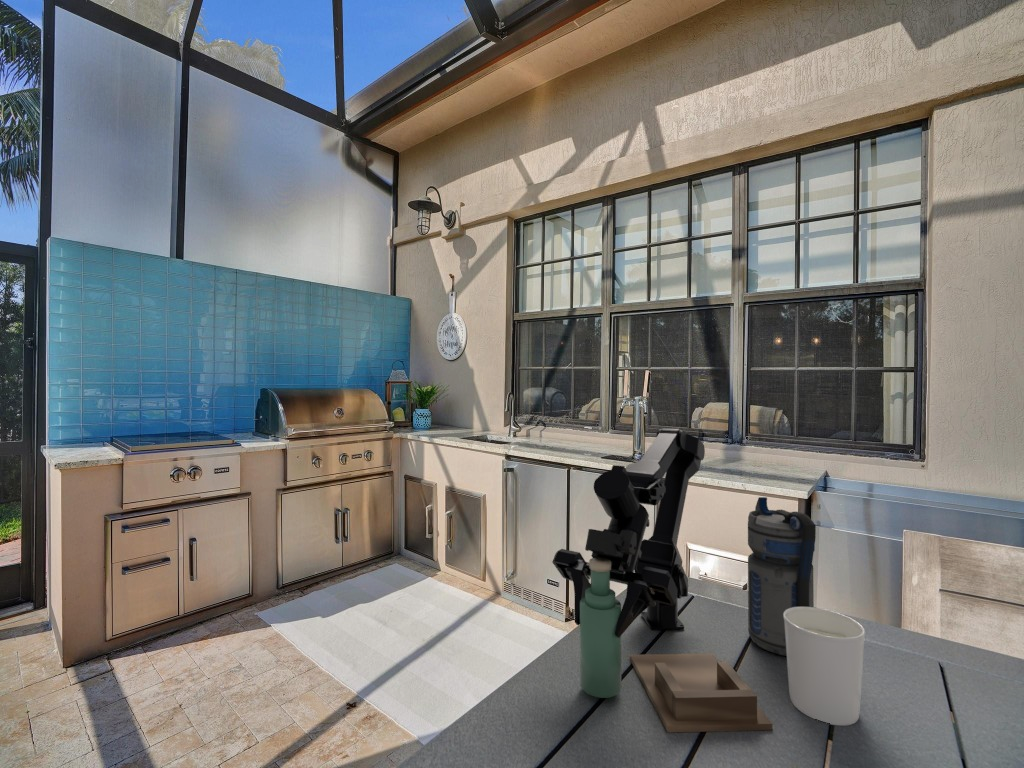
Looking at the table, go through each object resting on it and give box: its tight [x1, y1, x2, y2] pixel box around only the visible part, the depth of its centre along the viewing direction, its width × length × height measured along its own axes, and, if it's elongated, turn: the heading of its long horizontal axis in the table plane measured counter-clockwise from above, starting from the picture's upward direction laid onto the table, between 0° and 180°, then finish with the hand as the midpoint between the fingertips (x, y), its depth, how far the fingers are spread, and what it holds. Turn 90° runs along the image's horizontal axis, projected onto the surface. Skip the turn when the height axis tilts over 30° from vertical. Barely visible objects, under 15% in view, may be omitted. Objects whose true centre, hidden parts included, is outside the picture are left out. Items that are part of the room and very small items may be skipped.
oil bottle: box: [579, 557, 622, 699], centre depth 72 cm, size 6×6×18 cm
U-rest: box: [629, 652, 773, 733], centre depth 73 cm, size 18×14×4 cm
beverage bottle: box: [747, 496, 817, 657], centre depth 86 cm, size 10×13×25 cm
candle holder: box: [783, 607, 866, 727], centre depth 69 cm, size 10×10×12 cm
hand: (596, 629), depth 71 cm, fingers closed on oil bottle, 6 cm apart
